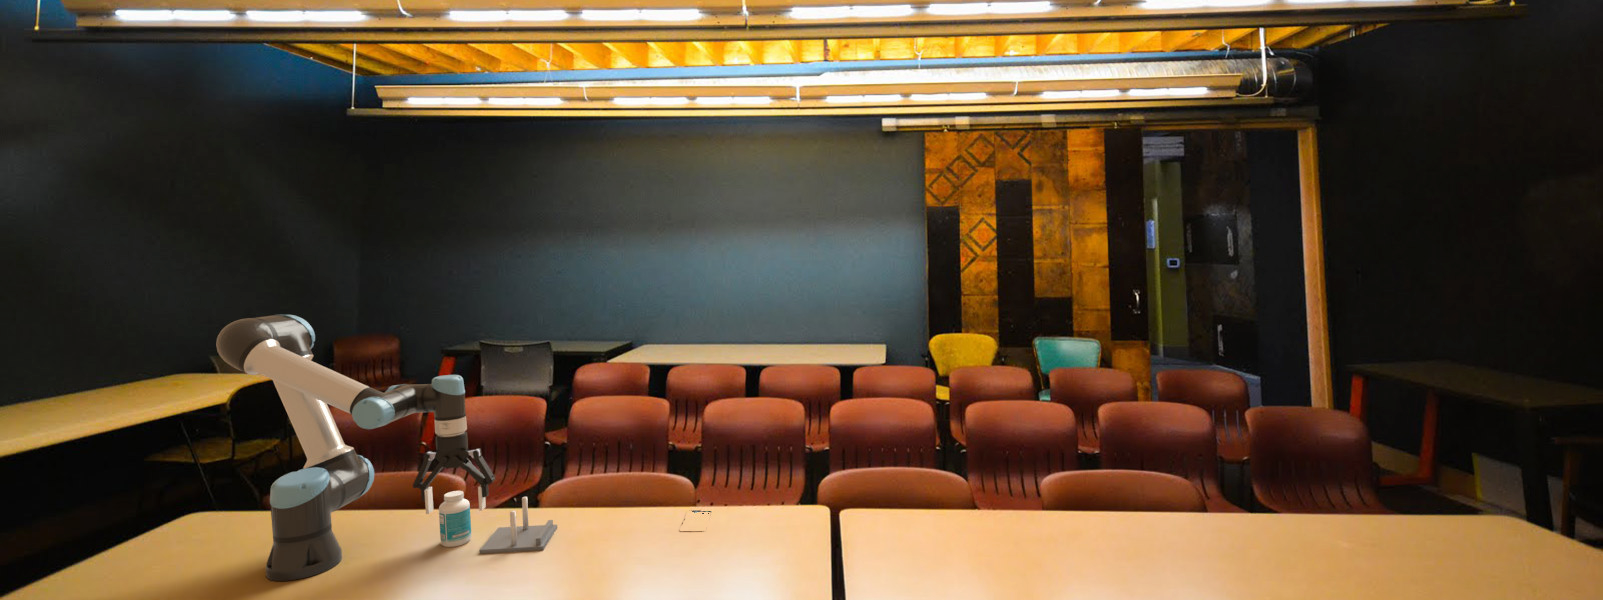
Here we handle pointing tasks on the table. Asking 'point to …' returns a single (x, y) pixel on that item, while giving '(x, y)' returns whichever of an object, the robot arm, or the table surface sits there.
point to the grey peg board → (519, 535)
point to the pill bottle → (454, 520)
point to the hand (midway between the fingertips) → (456, 510)
